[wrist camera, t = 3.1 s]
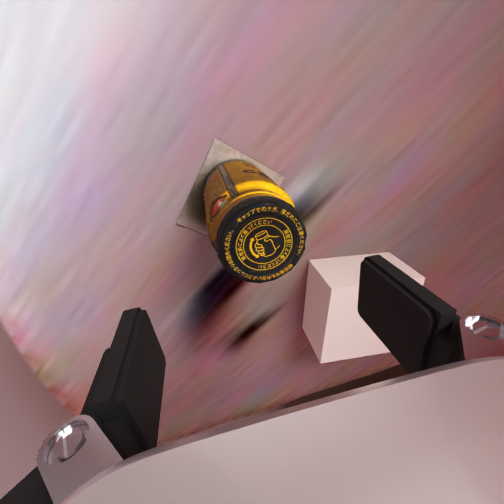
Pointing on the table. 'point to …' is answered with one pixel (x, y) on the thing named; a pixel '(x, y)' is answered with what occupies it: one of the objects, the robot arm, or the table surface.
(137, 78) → the table surface
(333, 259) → the cream block
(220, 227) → the condiment
